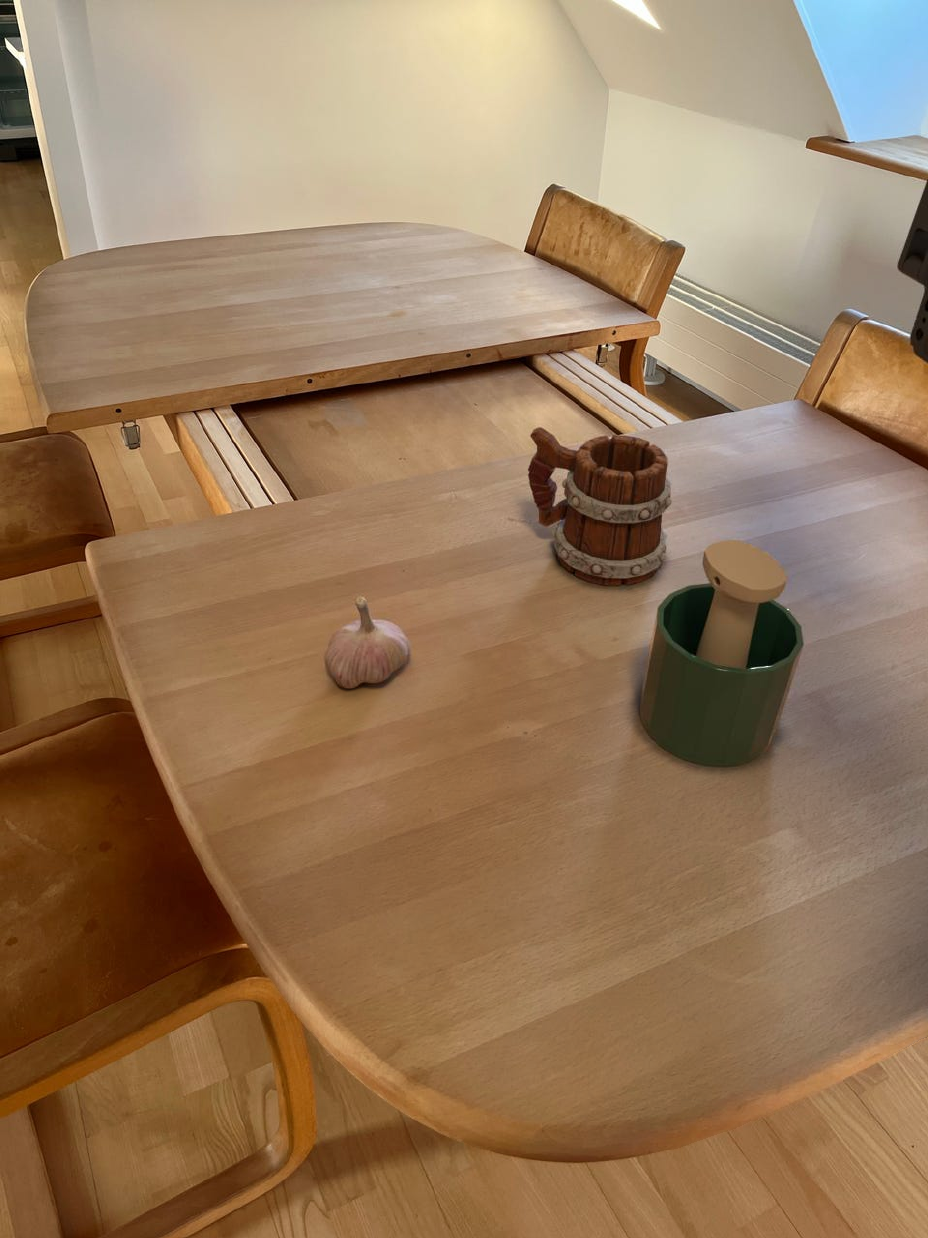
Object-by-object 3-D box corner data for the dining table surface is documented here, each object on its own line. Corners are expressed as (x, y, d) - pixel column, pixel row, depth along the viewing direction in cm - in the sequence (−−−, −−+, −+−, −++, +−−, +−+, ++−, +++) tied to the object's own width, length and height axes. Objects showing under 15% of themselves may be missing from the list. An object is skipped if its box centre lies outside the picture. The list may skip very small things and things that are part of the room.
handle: (706, 680, 81) (742, 534, 72) (756, 728, 76) (801, 579, 67) (660, 697, 79) (691, 549, 70) (708, 746, 75) (748, 596, 65)
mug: (663, 601, 90) (659, 460, 82) (522, 590, 96) (505, 456, 87) (683, 539, 99) (682, 406, 91) (554, 532, 104) (541, 405, 96)
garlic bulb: (330, 703, 79) (323, 629, 74) (321, 648, 84) (314, 576, 79) (418, 691, 80) (418, 618, 75) (403, 638, 86) (402, 566, 81)
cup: (797, 757, 75) (829, 663, 69) (667, 775, 73) (689, 680, 67) (739, 668, 83) (763, 577, 77) (621, 682, 82) (637, 590, 75)
